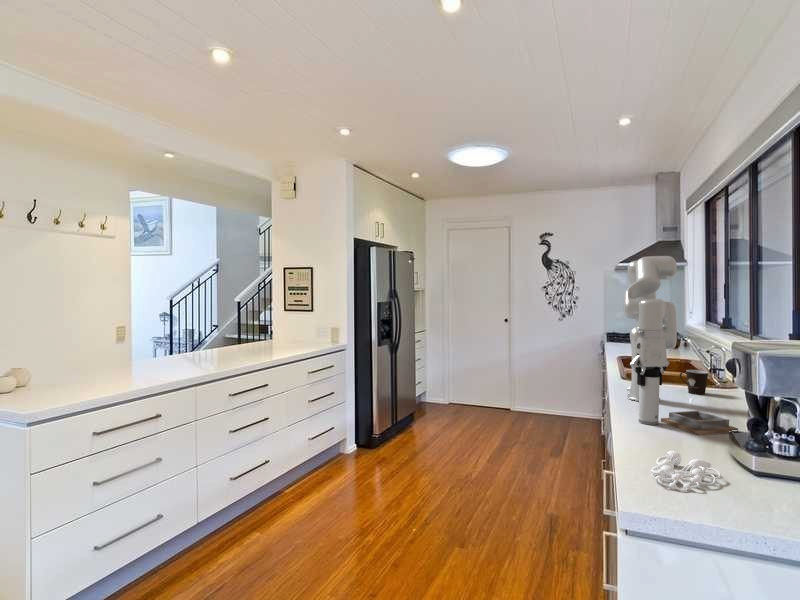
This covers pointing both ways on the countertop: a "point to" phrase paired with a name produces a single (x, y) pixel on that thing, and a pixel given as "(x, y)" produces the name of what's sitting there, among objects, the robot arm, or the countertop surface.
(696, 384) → the coffee mug
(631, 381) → the robot arm
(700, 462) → the tangled rod sculpture
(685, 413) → the frame
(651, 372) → the travel mug
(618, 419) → the countertop surface
